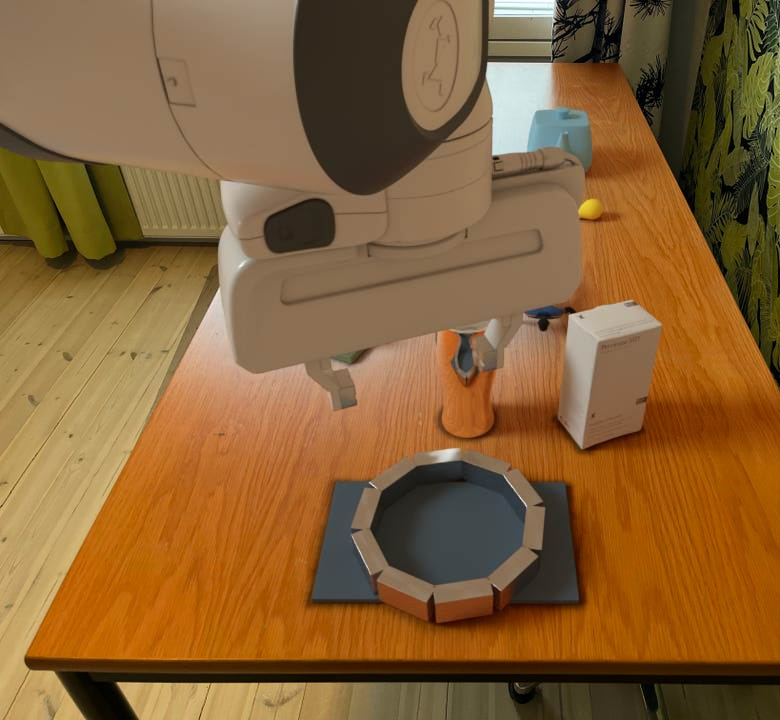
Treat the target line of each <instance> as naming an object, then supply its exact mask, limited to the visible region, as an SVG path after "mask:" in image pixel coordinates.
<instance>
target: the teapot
mask: <svg viewBox="0 0 780 720" xmlns="http://www.w3.org/2000/svg"><path fill="white" fill-rule="evenodd" d="M526 147H527V148H526V152H532V151H537V150H538V149H540V148H544V147H561V148H562V149H563V151H564V152H566V153H570V154H572V155H574V156H575V157H577V158H578V159H579V161H580V162H581V164H582V166H583V168H584V172H585V173H588V172H589V170H590V168H591V166H592V163H593V136H592V130H591V124H590V119H589V115H588V112H586V111H584V110H579V109H570V108H569V107H567V106H558V107H555V108H554V109H539V110H538V109H537V110H536V111H535V112H534V114H533V117H532V121H531V125H530V128H529V132H528V139H527V146H526ZM565 162H569V161H566V160H565V161H564V163H565Z"/></svg>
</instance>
